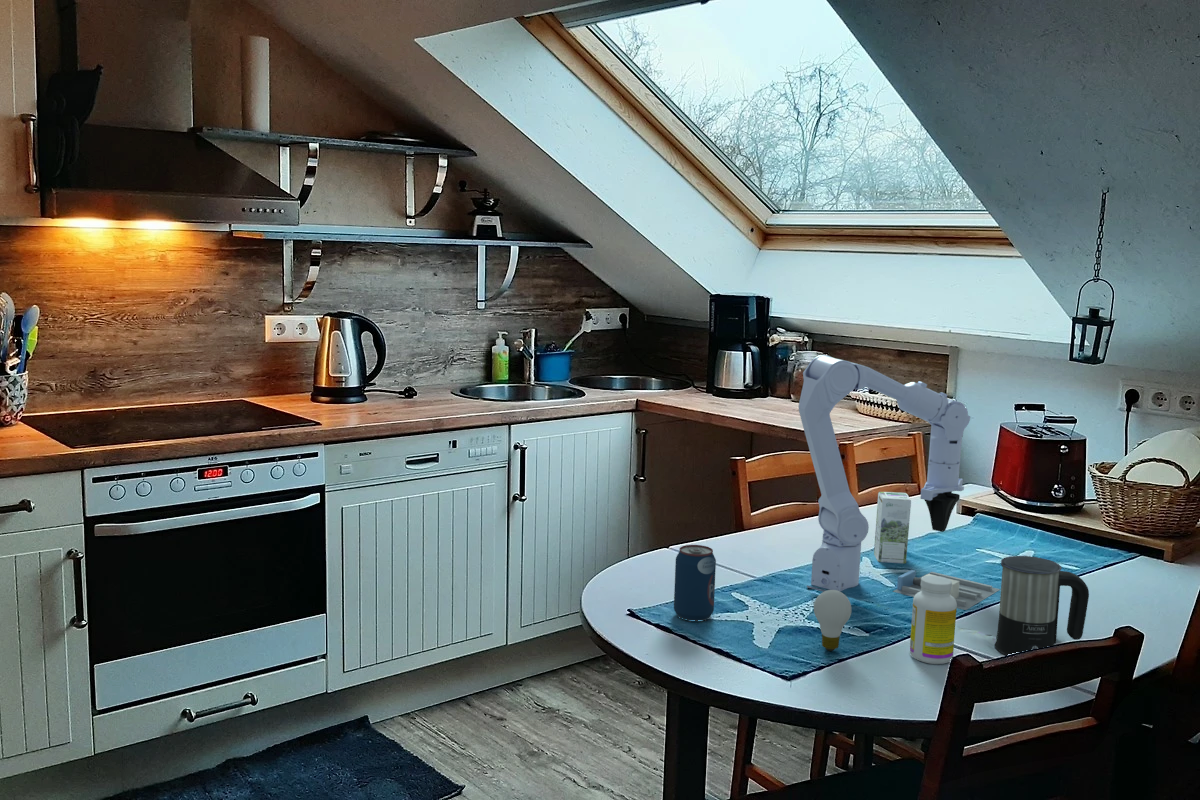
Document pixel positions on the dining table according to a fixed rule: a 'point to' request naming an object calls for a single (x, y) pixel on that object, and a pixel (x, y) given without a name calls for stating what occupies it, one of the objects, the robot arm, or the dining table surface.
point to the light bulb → (832, 616)
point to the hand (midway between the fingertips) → (938, 530)
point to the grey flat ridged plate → (967, 589)
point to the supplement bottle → (933, 621)
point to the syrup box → (892, 527)
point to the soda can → (694, 582)
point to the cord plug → (954, 590)
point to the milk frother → (1036, 604)
